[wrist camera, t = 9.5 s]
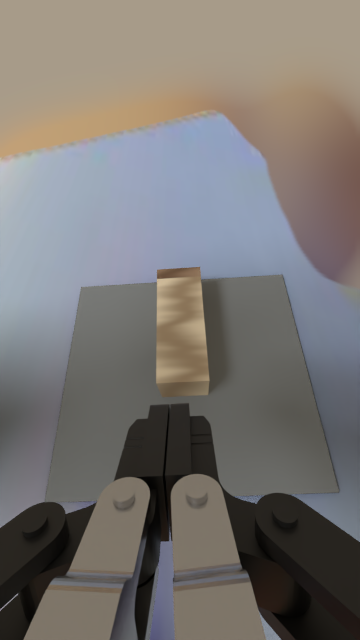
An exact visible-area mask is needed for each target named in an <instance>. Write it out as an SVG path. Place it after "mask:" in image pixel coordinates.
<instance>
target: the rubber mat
mask: <svg viewBox="0 0 360 640" xmlns="http://www.w3.org/2000/svg"><path fill="white" fill-rule="evenodd" d="M201 286H202V298H203V310H204V322H205V333H206V345H207V357H208V369H209V380H210V381H209V391H208V395H198V396H177V397H162V396H161V393H160V391H159V389H158V386H157V384H156V347H157V283H141V284H125V285H109V286H92V287H81V291H80V297H79V303H78V309H77V315H76V320H75V326H74V332H73V338H72V344H71V350H70V356H69V362H68V368H67V373H66V379H65V385H64V391H63V397H62V403H61V409H60V415H59V420H58V426H57V432H56V438H55V444H54V450H53V456H52V462H51V467H50V473H49V479H48V485H47V491H46V497H45V502H82V501H98V498H99V496H100V494H101V493H102V491H103V490H104V489H105V488H106V487H107V486H108V485H109V484H110V483H112V482H114V478H115V475H116V471H117V468H118V464H119V461H120V458H121V454H122V451H123V449H124V444H125V440H126V437H127V433H128V430H129V427H130V426H131V425H132V424H133V423H134V422H135V421H136V420H137V419H148V414H149V409H150V405H159V404H169V405H170V404H177V403H189V409H190V416H204V417H205V418H206V419H207V420H208V421H209V423H210V425H211V431H212V438H213V444H214V451H215V458H216V464H217V471H218V477H219V481H220V483H221V485H222V487H223V488H224V489H225V490H226V491H227V492H228V493H229V494H230V495H232V496H253V495H267V494H271V493H284V494H310V493H338V492H339V489H338V486H337V482H336V478H335V474H334V470H333V467H332V463H331V459H330V455H329V451H328V447H327V444H326V440H325V436H324V432H323V428H322V425H321V421H320V417H319V413H318V409H317V406H316V402H315V398H314V394H313V390H312V387H311V383H310V379H309V375H308V371H307V368H306V364H305V360H304V356H303V352H302V349H301V345H300V341H299V337H298V333H297V329H296V326H295V322H294V318H293V314H292V310H291V307H290V303H289V299H288V295H287V291H286V288H285V284H284V280H283V276H282V275H270V276H254V277H238V278H222V279H206V280H201Z"/></svg>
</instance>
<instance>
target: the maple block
mask: <svg viewBox="0 0 360 640" xmlns="http://www.w3.org/2000/svg"><path fill="white" fill-rule="evenodd" d="M209 381H210V380H209V369H208V357H207V345H206V333H205V322H204V310H203V298H202V286H201V275H200V267H193V268H177V269H161V270H157V347H156V384H157V386H158V389H159V391H160V393H161V396H162V397H177V396H198V395H208V391H209Z"/></svg>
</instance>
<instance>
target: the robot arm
mask: <svg viewBox="0 0 360 640" xmlns="http://www.w3.org/2000/svg"><path fill="white" fill-rule="evenodd" d="M169 532H171V541H173V564H174V577H173V597H174V624H175V640H266V637H265V634H264V630H263V626H262V622H261V618H260V615H259V612H260V614H261V615H262V617H263V618H264V619H265V621H266V622H267V623H268V624H269V625H270V627H271V628H272V629H273V630H274V631H275V632H276V634H277V635H278V636H279V637H280V638H281V639H282V640H360V542H359V541H357V540H356V539H354V538H353V537H352V536H350V535H349V534H347V533H346V532H345V531H343V530H342V529H340V528H339V527H337V526H336V525H335V524H333V523H332V522H330V521H329V520H328V519H326V518H325V517H323V516H322V515H320V514H319V513H318V512H316V511H315V510H313V509H312V508H311V507H309V506H308V505H306V504H305V503H303V502H302V501H301V500H299V499H297V498H296V497H293V496H291V495H288V494H284V493H271V494H267V495H265V496H263V497H262V498H261V499H260V500H259V501H258V503H257V504H255V503H251V502H247V501H243V500H240V499H238V498H235V497H233V496H232V495H230V494H229V493H228V492H227V491H226V490H225V489H224V488H223V487H222V485H221V483H220V481H219V477H218V471H217V464H216V458H215V451H214V444H213V438H212V431H211V425H210V423H209V421H208V420H207V419H206V418H205V417H204V416H190V409H189V403H177V404H170V405H169V404H159V405H150V409H149V414H148V419H137V420H136V421H135V422H134V423H133V424H132V425H131V426H130V427H129V430H128V433H127V437H126V440H125V444H124V449H123V451H122V454H121V458H120V461H119V464H118V468H117V471H116V475H115V478H114V482H112V483H110V484H109V485H108V486H107V487H106V488H105V489H104V490H103V491H102V493H101V494H100V496H99V498H98V501H97V502H96V503H95V504H93V505H91V506H89V507H86V508H83V509H80V510H77V511H74V512H71V513H68V514H65V510H64V508H63V507H62V506H61V505H60V504H58V503H55V502H43V503H39V504H36V505H34V506H32V507H30V508H28V509H26V510H25V511H23V512H22V513H20V514H19V515H18V516H16V517H15V518H14V519H12V520H11V521H9V522H8V523H7V524H5V525H4V526H2V527H1V528H0V609H1V608H2V607H3V606H4V605H5V604H6V603H7V602H9V601H10V600H11V599H12V598H13V597H14V596H15V595H16V594H17V593H18V595H17V596H16V597H15V598H14V599H13V600H12V601H11V602H10V603H8V604H7V605H6V606H5V607H4V608H3V609H2V610H1V611H0V640H149V639H150V632H151V624H152V617H153V610H154V603H155V596H156V588H157V581H158V574H159V567H158V563H159V556H160V542H161V541H169ZM258 610H259V611H258Z"/></svg>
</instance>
